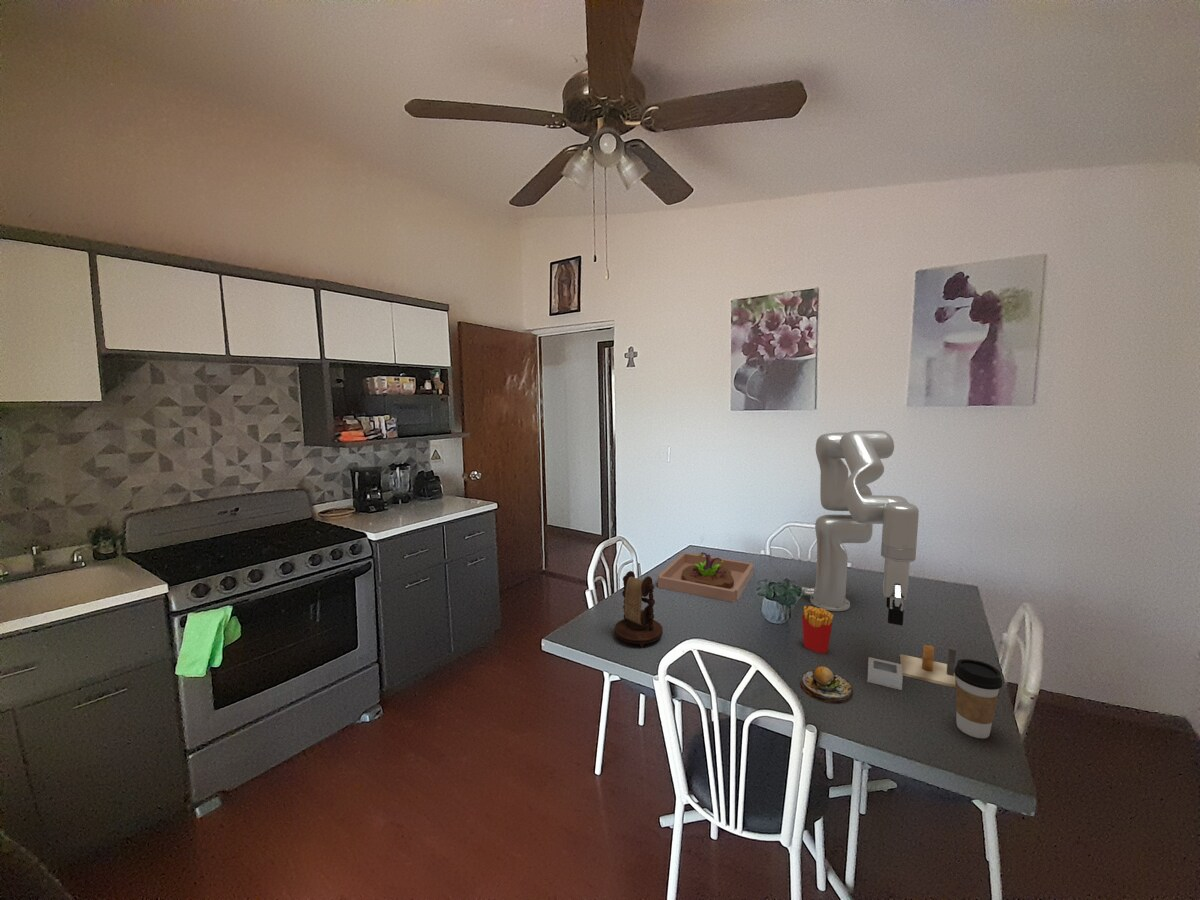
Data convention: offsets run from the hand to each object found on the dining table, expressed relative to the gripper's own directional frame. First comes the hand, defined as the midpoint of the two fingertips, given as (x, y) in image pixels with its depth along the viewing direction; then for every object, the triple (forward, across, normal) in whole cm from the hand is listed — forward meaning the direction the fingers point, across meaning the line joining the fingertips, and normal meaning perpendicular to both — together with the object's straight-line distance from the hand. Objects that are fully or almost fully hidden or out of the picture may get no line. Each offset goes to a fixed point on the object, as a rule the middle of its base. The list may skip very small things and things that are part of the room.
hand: (894, 615), depth 127 cm
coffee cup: (+18, +14, +15) cm, 27 cm away
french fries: (+17, -7, -18) cm, 26 cm away
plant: (+17, -42, -61) cm, 76 cm away
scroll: (+17, +9, -68) cm, 70 cm away
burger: (+18, +12, -15) cm, 26 cm away
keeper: (+17, -8, +9) cm, 21 cm away
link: (+17, +1, -1) cm, 17 cm away
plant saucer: (+16, -42, -61) cm, 75 cm away
